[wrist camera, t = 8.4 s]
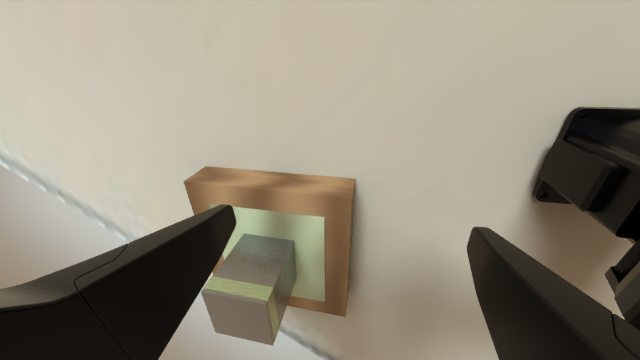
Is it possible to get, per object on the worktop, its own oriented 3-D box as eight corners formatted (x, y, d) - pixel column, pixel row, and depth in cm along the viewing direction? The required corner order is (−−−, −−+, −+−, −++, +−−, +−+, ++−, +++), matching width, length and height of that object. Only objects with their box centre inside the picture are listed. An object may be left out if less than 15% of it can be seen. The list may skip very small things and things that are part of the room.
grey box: (294, 240, 20) (265, 304, 15) (297, 278, 23) (273, 345, 18) (243, 233, 21) (200, 291, 16) (251, 270, 24) (215, 332, 18)
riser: (355, 179, 20) (351, 199, 17) (348, 290, 27) (345, 318, 24) (205, 166, 23) (181, 182, 20) (233, 271, 29) (218, 294, 27)
